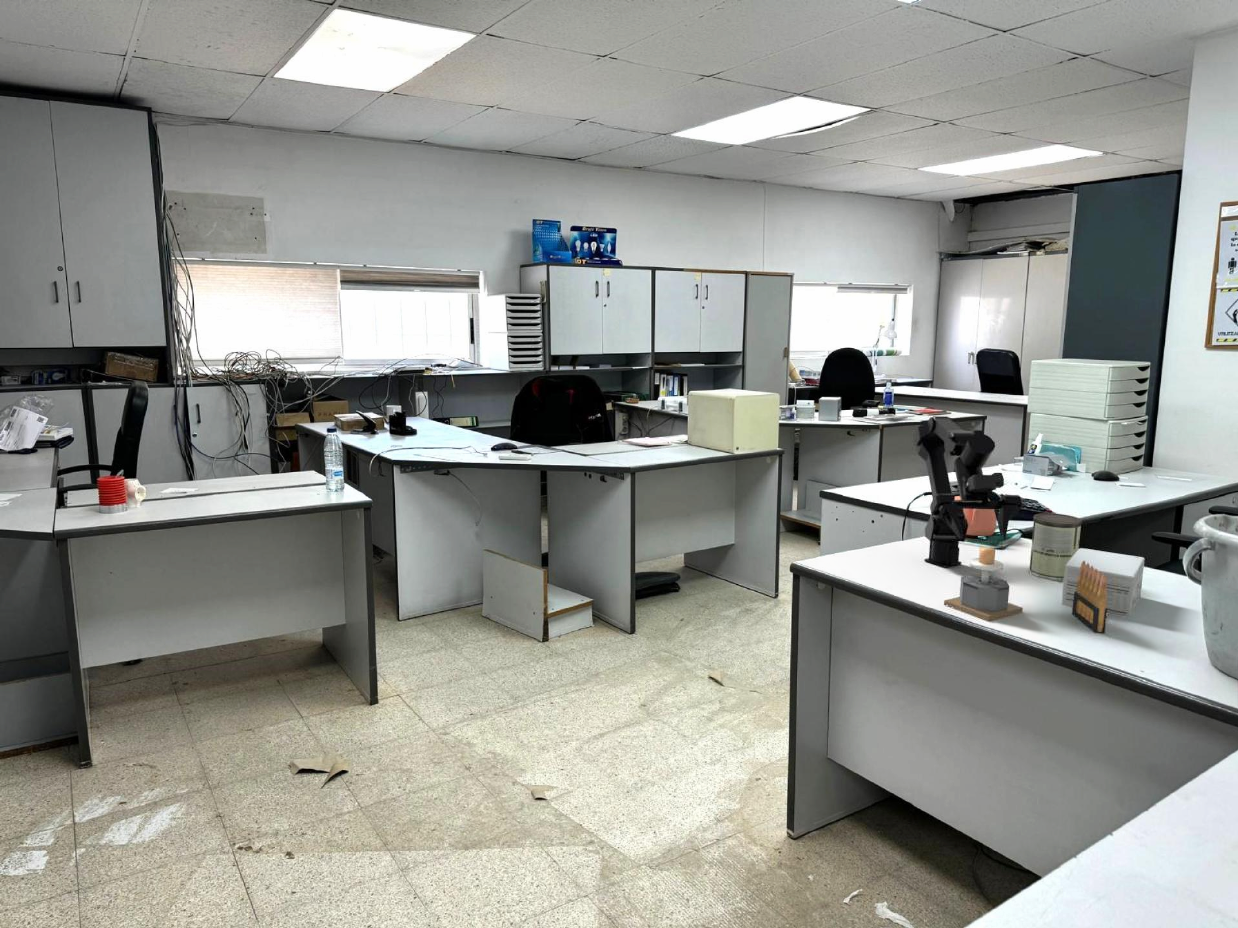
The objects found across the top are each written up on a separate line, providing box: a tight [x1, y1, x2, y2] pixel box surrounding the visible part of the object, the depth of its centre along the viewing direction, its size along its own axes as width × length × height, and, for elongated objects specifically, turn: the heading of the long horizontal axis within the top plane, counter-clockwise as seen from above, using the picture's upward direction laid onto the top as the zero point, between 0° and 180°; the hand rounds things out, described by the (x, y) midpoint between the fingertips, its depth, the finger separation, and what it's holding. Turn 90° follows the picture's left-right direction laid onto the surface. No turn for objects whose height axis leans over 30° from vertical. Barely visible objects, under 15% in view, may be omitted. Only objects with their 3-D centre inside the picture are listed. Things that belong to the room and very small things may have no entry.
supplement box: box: [1061, 547, 1145, 618], centre depth 180 cm, size 17×13×9 cm
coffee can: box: [1028, 512, 1083, 581], centre depth 198 cm, size 10×10×14 cm
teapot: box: [954, 495, 998, 537], centre depth 235 cm, size 13×20×12 cm, turn 165°
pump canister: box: [943, 574, 1024, 622], centre depth 175 cm, size 11×11×6 cm
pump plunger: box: [969, 546, 1004, 584], centre depth 174 cm, size 6×6×9 cm
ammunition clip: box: [1071, 561, 1107, 634], centre depth 166 cm, size 11×2×12 cm, turn 174°
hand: (982, 538), depth 180 cm, fingers open, 9 cm apart
